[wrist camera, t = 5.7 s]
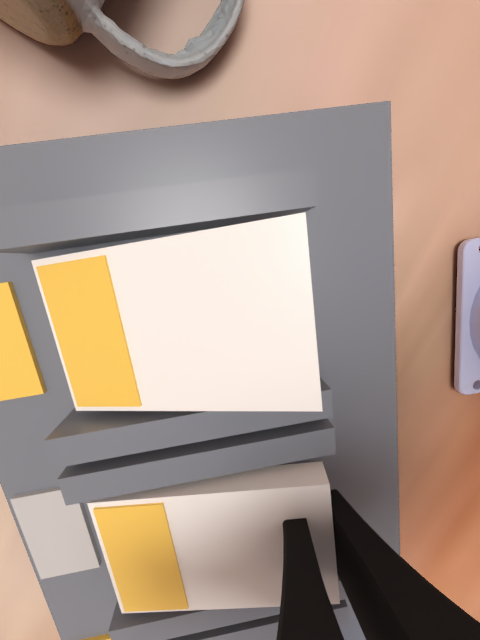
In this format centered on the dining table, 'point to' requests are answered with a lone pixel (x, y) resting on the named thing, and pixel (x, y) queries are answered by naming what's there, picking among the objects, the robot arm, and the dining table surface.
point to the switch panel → (196, 426)
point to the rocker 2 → (214, 539)
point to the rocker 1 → (189, 321)
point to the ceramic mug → (119, 33)
